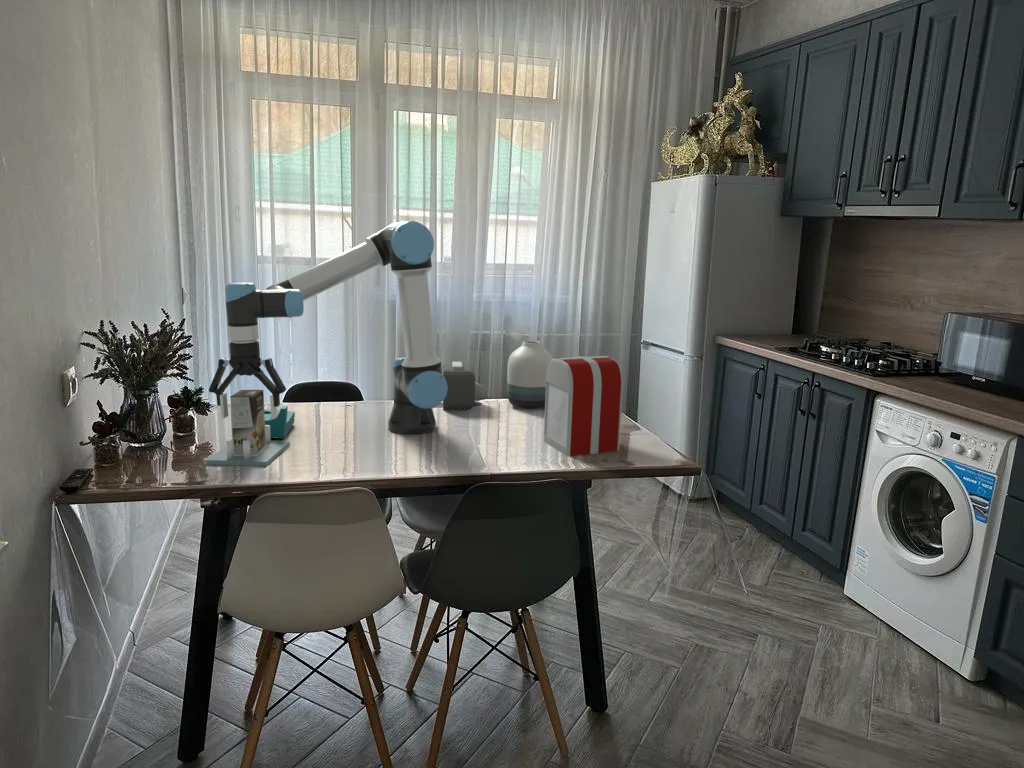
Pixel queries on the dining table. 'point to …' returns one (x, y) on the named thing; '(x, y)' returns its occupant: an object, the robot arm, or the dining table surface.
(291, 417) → the teal cradle block
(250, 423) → the coffee box
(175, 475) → the dining table surface
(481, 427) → the dining table surface
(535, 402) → the vase
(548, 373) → the red white rounded block
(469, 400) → the alarm clock
